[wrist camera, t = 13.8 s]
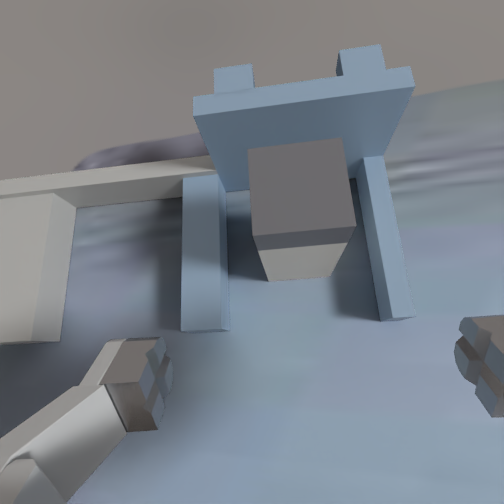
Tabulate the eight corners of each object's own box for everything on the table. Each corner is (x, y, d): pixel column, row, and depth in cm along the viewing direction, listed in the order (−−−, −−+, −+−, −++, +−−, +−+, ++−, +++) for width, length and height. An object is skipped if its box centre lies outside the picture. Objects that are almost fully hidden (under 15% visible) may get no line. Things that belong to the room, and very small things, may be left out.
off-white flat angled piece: (-41, 347, 22) (-89, 347, 19) (-9, 204, 26) (-47, 186, 23) (229, 330, 20) (219, 328, 17) (225, 177, 24) (215, 154, 21)
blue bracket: (193, 333, 20) (135, 324, 13) (194, 162, 24) (149, 78, 17) (400, 320, 19) (471, 301, 12) (366, 142, 23) (403, 40, 15)
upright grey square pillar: (268, 281, 21) (252, 235, 12) (264, 226, 22) (247, 148, 14) (329, 276, 20) (356, 226, 12) (322, 220, 22) (342, 137, 13)
